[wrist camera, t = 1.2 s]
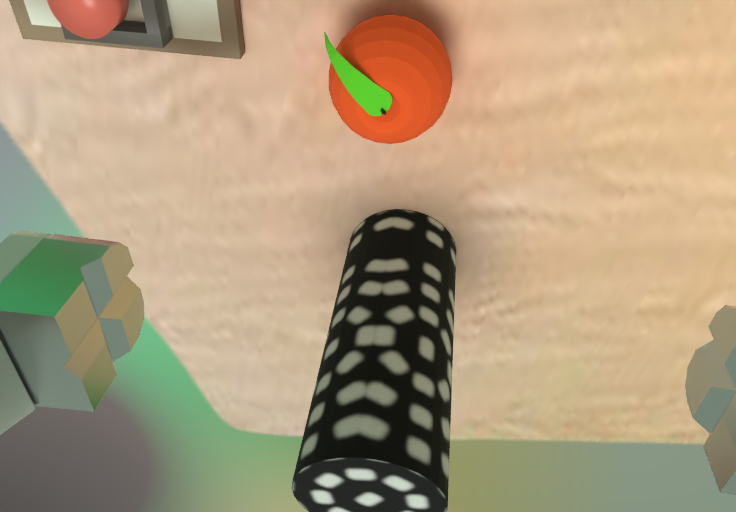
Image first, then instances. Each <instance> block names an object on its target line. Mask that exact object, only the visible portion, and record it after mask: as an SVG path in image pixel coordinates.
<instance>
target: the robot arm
mask: <svg viewBox="0 0 736 512" xmlns="http://www.w3.org/2000/svg"><path fill="white" fill-rule="evenodd" d="M133 266H134V265H133V262H132V259H131V256H130V253H129V250H128V247H126V246H125V245H123V244H121V243H119V242H112V241H104V240H96V239H88V238H80V237H73V236H65V235H57V234H55V235H51V234H44V233H36V232H28V231H19V232H16V233H12V234H10V235H9V236H8V237H6V238H5V239H4V240H3V241H2V242H1V243H0V434H2V433H3V432H5V431H6V430H7V429H9V428H10V427H11V426H13V425H14V424H16V423H17V422H18V421H20V420H21V419H22V418H24V417H25V416H26V415H28V414H29V413H31V412H32V411H33V410H35V406H45V407H55V408H64V409H74V410H84V411H93V412H94V411H95V409H96V408H97V406H98V404H99V402H100V401H101V399H102V398H103V396H104V394H105V393H106V391H107V390H108V388H109V386H110V384H111V383H112V381H113V380H114V378H115V376H116V375H117V374H116V370H115V366H114V361H115V360H116V359H118V358H120V357H121V356H123V355H124V354H126V353H128V352H130V351H131V350H132V348H133V346H134V344H135V342H136V341H137V339H138V337H139V335H140V331H141V327H142V323H143V319H144V301H143V297H142V293H141V290H140V288H139V287H138V286H137V285H136V284H135V283H134V282H132V281H131V280H130V279H129V278H128V277H127V275H128V274H129V272H130V271H131V269H132V267H133ZM709 329H710V331H711V334H712V336H713V338H714V340H713V341H711V342H709V343H707V344H706V345H704V346H702V347H700V348H699V349H697V350H696V351H695V353H694V355H693V357H692V359H691V361H690V364H689V366H688V369H687V377H686V385H685V388H686V395H687V402H688V405H689V408H690V411H691V414H692V417H693V418H694V419H695V420H696V421H697V422H698V423H699V424H700V425H701V426H702V427H703V428H705V429H706V430H707V431H708V432H709V433H710V435H709V436H708V438H707V440H706V442H705V444H704V446H703V447H704V450H705V453H706V456H707V458H708V461H709V464H710V467H711V469H712V472H713V475H714V477H715V480H716V483H717V485H718V488H719V491H720V492H721V493H728V494H734V495H736V306H728V305H725V306H724V307H723V308H721V309H720V310H719V311H718V312H717V313H716V314H715V316H714V318H713V319H712V321H711V323H710V325H709Z"/></svg>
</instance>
